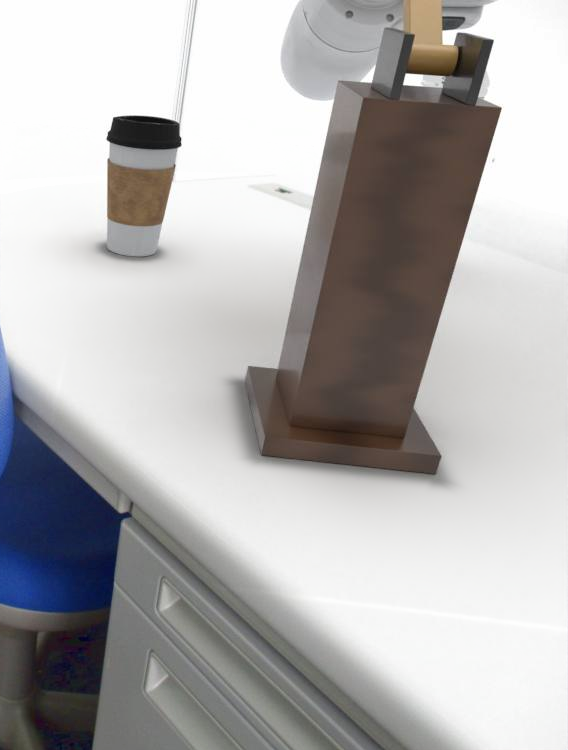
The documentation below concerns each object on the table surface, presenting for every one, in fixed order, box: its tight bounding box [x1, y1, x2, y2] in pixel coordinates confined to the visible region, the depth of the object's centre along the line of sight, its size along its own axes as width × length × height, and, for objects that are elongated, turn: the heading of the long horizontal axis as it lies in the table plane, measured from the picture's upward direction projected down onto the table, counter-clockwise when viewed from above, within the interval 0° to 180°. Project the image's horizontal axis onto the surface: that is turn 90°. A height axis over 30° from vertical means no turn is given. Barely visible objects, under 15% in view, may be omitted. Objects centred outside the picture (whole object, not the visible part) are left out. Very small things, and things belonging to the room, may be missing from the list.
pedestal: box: [244, 27, 503, 475], centre depth 60 cm, size 12×12×28 cm
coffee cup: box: [106, 114, 183, 258], centre depth 99 cm, size 8×8×15 cm
